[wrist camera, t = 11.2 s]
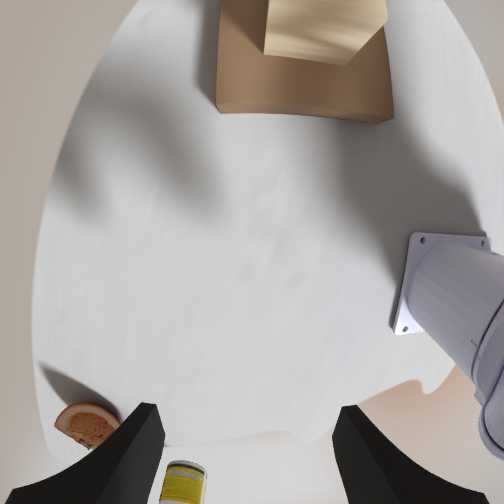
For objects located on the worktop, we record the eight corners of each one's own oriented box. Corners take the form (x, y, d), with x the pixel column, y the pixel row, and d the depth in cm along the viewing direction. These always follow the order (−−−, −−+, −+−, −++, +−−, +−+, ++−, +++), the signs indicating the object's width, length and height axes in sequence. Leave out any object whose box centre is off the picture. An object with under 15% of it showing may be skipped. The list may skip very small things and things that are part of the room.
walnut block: (361, 10, 13) (375, -9, 11) (373, 125, 16) (393, 118, 13) (226, -3, 13) (223, -26, 10) (221, 115, 16) (215, 103, 13)
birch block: (342, 10, 11) (376, -44, 5) (343, 66, 12) (388, 19, 7) (268, -2, 11) (275, -65, 5) (263, 54, 12) (270, -6, 7)
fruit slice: (150, 425, 22) (137, 462, 18) (131, 447, 24) (119, 479, 19) (77, 380, 21) (55, 412, 16) (68, 409, 23) (50, 438, 18)
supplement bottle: (161, 458, 24) (146, 515, 16) (200, 459, 24) (191, 521, 16) (176, 476, 25) (166, 528, 17) (212, 477, 25) (206, 533, 17)
